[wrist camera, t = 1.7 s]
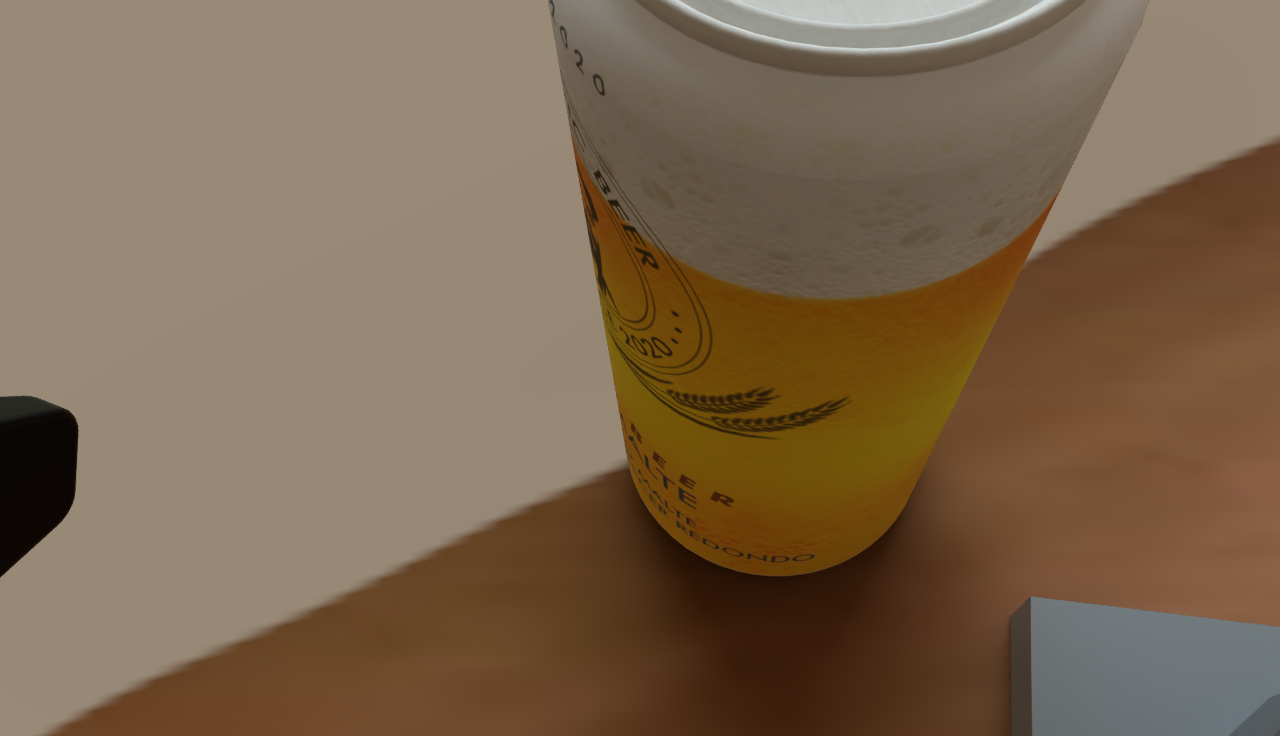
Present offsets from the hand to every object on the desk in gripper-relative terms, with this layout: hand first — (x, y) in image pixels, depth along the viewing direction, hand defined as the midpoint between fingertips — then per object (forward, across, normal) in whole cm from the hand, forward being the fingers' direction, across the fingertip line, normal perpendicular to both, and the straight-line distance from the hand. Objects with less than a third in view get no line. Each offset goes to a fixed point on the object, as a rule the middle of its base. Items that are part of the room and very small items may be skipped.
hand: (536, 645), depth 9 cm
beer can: (+15, 0, +4) cm, 15 cm away
